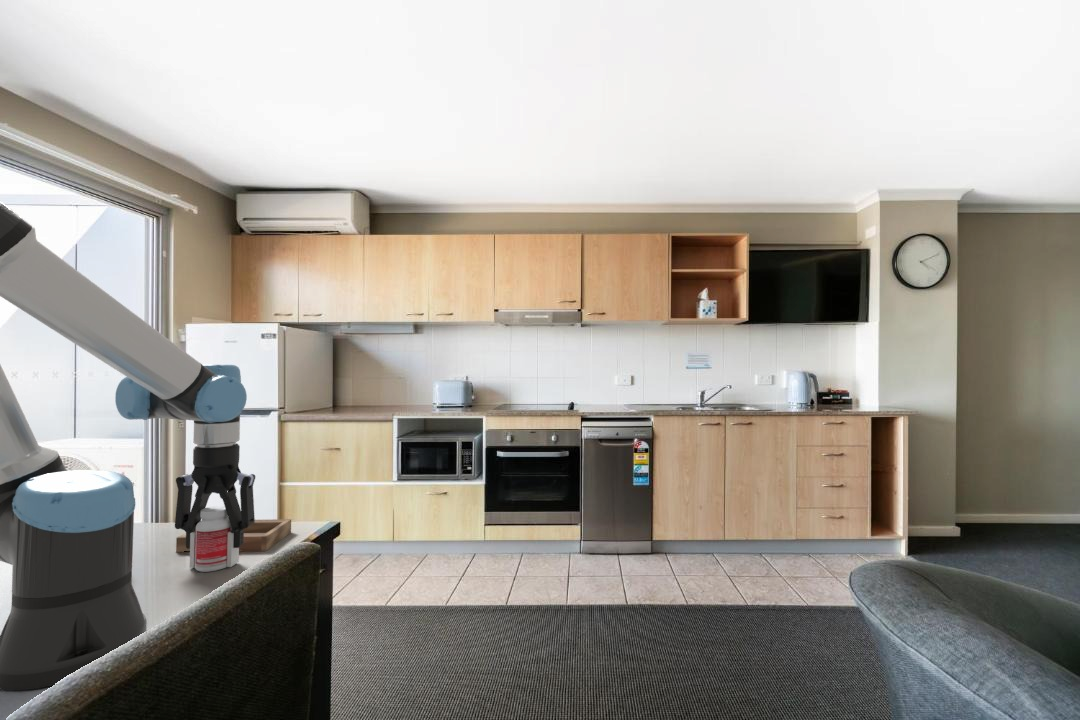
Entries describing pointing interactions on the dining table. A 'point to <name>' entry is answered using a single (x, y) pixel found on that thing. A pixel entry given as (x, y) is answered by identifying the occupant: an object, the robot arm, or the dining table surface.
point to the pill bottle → (212, 539)
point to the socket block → (254, 535)
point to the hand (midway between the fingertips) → (214, 564)
